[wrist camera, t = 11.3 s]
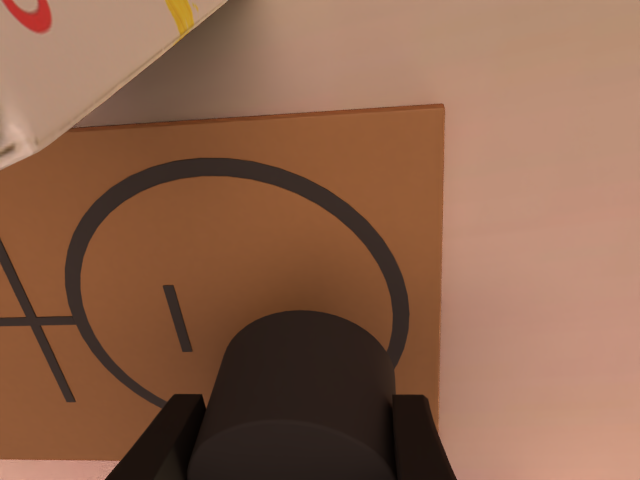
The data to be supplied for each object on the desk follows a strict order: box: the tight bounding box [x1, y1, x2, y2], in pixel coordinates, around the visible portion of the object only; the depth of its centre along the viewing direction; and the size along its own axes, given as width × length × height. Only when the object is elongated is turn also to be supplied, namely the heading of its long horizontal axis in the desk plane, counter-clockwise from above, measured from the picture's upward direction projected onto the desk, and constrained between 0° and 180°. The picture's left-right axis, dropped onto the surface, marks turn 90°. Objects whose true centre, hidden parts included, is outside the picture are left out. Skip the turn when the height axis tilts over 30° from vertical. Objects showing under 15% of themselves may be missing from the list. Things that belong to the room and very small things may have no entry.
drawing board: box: [0, 104, 445, 461], centre depth 22 cm, size 16×22×1 cm
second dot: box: [187, 310, 397, 480], centre depth 12 cm, size 4×4×3 cm
